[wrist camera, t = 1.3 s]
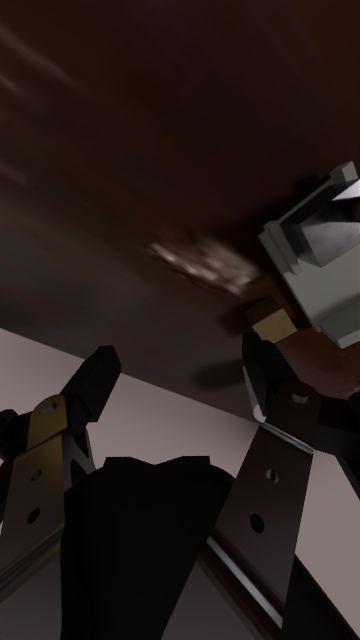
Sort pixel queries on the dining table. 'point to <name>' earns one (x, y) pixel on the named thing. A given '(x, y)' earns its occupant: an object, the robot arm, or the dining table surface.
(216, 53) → the dining table surface
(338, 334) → the press
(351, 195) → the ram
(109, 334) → the dining table surface
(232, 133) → the dining table surface
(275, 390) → the robot arm
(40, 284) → the dining table surface
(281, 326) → the tan cube
